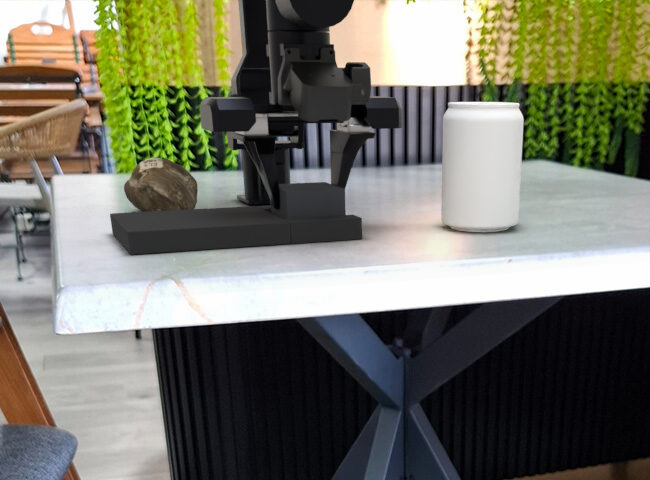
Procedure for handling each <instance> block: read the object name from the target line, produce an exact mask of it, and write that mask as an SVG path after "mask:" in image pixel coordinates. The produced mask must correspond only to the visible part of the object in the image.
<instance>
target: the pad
mask: <svg viewBox="0 0 650 480" xmlns="http://www.w3.org/2000/svg"><path fill="white" fill-rule="evenodd" d="M279 189H280V209H275V208H274V207H273V205H272V202H271V200H270V204H269V205H271V214H274V215H276V216H278V217H280V218H282V219H286V218H303V217H321V216H338V215H347V214H346V212H347V211H346V188H345V189H344V188H341V187H338V186H335V185H332V184H331V183H329V182H326V181H319V182H295V183H290V184H279Z"/></svg>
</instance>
